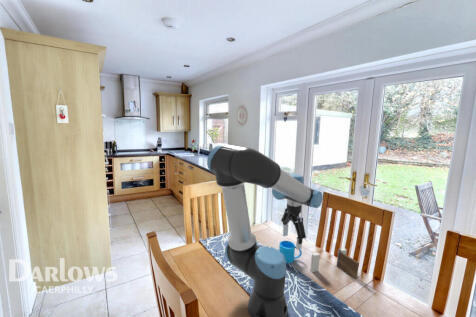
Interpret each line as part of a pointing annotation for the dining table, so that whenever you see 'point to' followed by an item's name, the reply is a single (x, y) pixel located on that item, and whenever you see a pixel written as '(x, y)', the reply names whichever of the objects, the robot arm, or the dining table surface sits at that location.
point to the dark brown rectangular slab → (348, 265)
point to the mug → (288, 251)
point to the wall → (317, 256)
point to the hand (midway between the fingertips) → (291, 241)
